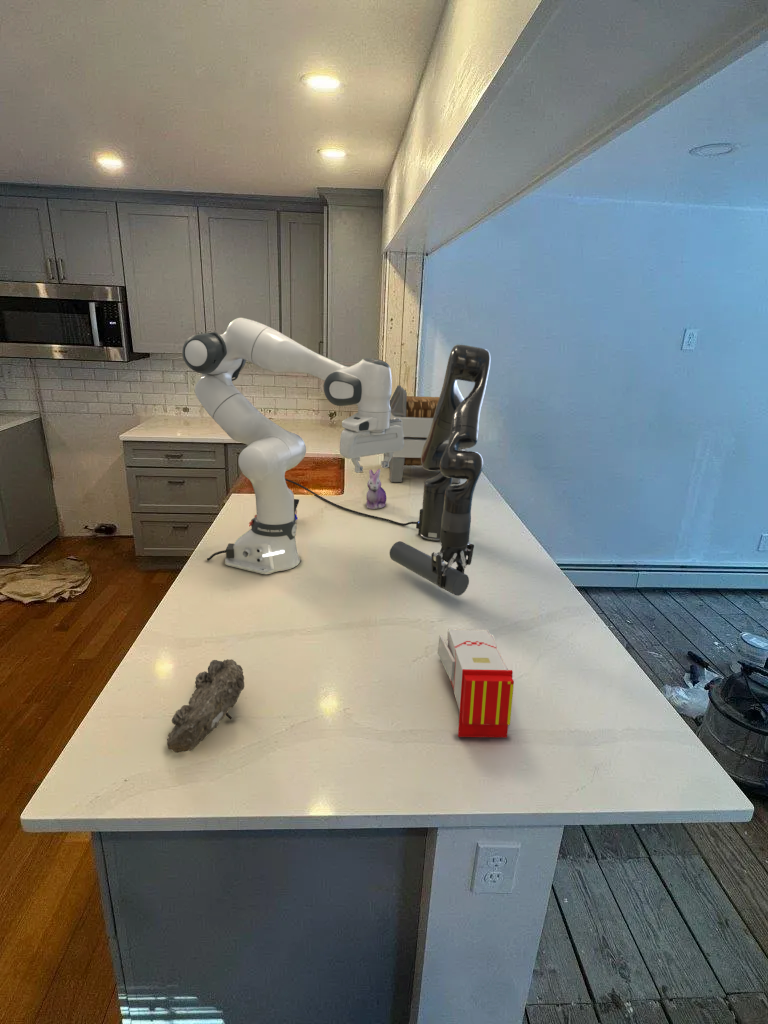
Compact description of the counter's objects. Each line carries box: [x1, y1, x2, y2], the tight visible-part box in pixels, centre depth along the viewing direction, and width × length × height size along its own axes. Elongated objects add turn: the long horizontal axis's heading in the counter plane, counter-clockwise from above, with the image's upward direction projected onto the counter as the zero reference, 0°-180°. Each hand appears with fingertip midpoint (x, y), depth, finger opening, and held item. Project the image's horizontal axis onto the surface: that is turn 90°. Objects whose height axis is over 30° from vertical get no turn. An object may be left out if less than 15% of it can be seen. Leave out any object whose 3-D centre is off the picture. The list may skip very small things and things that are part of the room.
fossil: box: [166, 658, 245, 754], centre depth 106 cm, size 22×10×15 cm
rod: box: [389, 541, 470, 597], centre depth 159 cm, size 26×6×6 cm, turn 39°
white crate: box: [383, 384, 463, 484], centre depth 268 cm, size 34×33×41 cm
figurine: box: [365, 468, 387, 510], centre depth 224 cm, size 9×10×15 cm
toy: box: [437, 628, 515, 738], centre depth 117 cm, size 12×13×30 cm
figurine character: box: [294, 498, 300, 521], centre depth 203 cm, size 7×8×15 cm
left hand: (372, 469), depth 158 cm, fingers open, 8 cm apart
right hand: (450, 583), depth 153 cm, fingers closed on rod, 6 cm apart
